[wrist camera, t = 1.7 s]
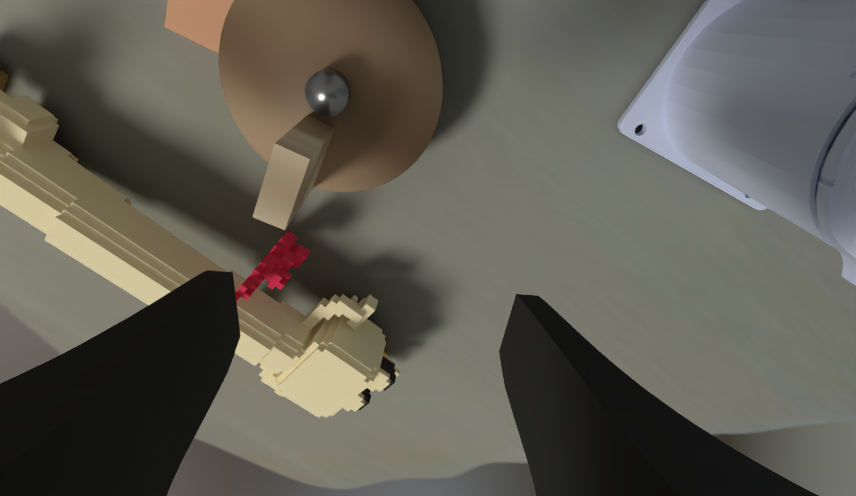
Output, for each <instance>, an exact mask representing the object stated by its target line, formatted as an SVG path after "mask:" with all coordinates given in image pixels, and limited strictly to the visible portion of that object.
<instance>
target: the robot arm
mask: <svg viewBox="0 0 856 496" xmlns="http://www.w3.org/2000/svg"><path fill="white" fill-rule="evenodd" d="M640 124H643V128H642V130H641V131H640V132H639V133H635V128H636V127H637V126H638V125H640ZM618 129H619V131H620V132H621V133H623V134H624V135H626V136H628V137H629V138H631V139H633V140H635V141H636V142H638V143H640V144H642V145H644V146H645V147H647V148H649V149H651V150H652V151H654V152H656V153H658V154H659V155H661V156H663V157H665V158H666V159H668V160H670V161H672V162H674V163H675V164H677V165H679V166H681V167H682V168H684V169H686V170H688V171H689V172H691V173H693V174H695V175H696V176H698V177H700V178H702V179H704V180H705V181H707V182H709V183H711V184H712V185H714V186H716V187H718V188H719V189H721V190H723V191H725V192H726V193H728V194H730V195H732V196H734V197H735V198H737V199H739V200H741V201H742V202H744V203H746V204H748V205H749V206H751V207H753V208H755V209H757V210H764V209H767V208H769V209H771V210H772V211H774V212H776V213H777V214H779V215H781V216H782V217H784V218H786V219H787V220H789V221H791V222H792V223H794V224H796V225H797V226H799V227H801V228H802V229H804V230H806V231H807V232H809V233H811V234H812V235H814V236H816V237H817V238H819V239H821V240H822V241H824V242H826V243H827V244H829V245H831V246H832V247H834V248H836V249H837V250H838V251H839V252H840V253H841V255H842V258H843V271H842V277H843V278H845V279H846V280H848V281H850V282H851V283H853V284H854V285H856V0H706V1H705V2H704V3H703V5H702V6H701V7H700V9H699V10H698V12H697V13H696V14H695V16H694V17H693V19H692V20H691V21H690V23H689V24H688V25H687V27H686V28H685V30H684V31H683V32H682V34H681V35H680V36H679V38H678V39H677V41H676V42H675V43H674V45H673V46H672V47H671V49H670V50H669V52H668V53H667V54H666V56H665V57H664V58H663V60H662V61H661V63H660V64H659V65H658V67H657V68H656V70H655V71H654V72H653V74H652V75H651V76H650V78H649V79H648V81H647V82H646V83H645V85H644V86H643V87H642V89H641V90H640V92H639V93H638V94H637V96H636V97H635V98H634V100H633V101H632V103H631V104H630V105H629V107H628V108H627V109H626V111H625V112H624V114H623V115H622V116H621V118H620V120H619V122H618ZM745 194H746V195H745ZM240 336H241V335H240V327H239V319H238V310H237V302H236V294H235V286H234V278H233V272H223V271H211V270H206V271H204V272H203V273H201V274H199V275H197V276H196V277H194V278H192V279H191V280H189V281H187V282H186V283H184V284H182V285H181V286H179V287H178V288H176V289H174V290H173V291H171V292H170V293H168V294H166V295H165V296H163V297H162V298H160V299H158V300H157V301H155V302H153V303H152V304H150V305H148V306H147V307H145V308H144V309H142V310H140V311H139V312H137V313H135V314H134V315H132V316H130V317H129V318H127V319H125V320H123V321H122V322H120V323H118V324H116V325H115V326H113V327H111V328H109V329H107V330H106V331H104V332H102V333H100V334H98V335H97V336H95V337H93V338H91V339H90V340H88V341H86V342H84V343H82V344H81V345H79V346H77V347H75V348H73V349H71V350H69V351H67V352H65V353H63V354H61V355H59V356H57V357H56V358H54V359H52V360H50V361H48V362H45V363H43V364H41V365H39V366H37V367H35V368H33V369H31V370H29V371H26V372H25V373H22V374H20V375H18V376H16V377H14V378H12V379H9V380H7V381H5V382H3V383H1V384H0V496H167V493H168V490H169V488H170V485H171V483H172V481H173V479H174V476H175V474H176V472H177V470H178V468H179V466H180V464H181V462H182V459H183V458H184V456H185V453H186V452H187V450H188V448H189V446H190V444H191V442H192V440H193V438H194V436H195V435H196V433H197V431H198V429H199V427H200V425H201V423H202V421H203V419H204V417H205V415H206V413H207V412H208V410H209V408H210V406H211V404H212V402H213V400H214V398H215V396H216V394H217V392H218V390H219V388H220V386H221V384H222V382H223V380H224V378H225V376H226V374H227V372H228V370H229V367H230V364H231V362H232V359H233V356H234V354H235V351H236V348H237V345H238V342H239V339H240ZM499 353H500V360H501V366H502V372H503V378H504V384H505V388H506V392H507V395H508V398H509V402H510V405H511V409H512V412H513V415H514V418H515V422H516V425H517V428H518V431H519V435H520V438H521V441H522V445H523V448H524V451H525V454H526V458H527V461H528V464H529V467H530V471H531V475H532V479H533V483H534V486H535V490H536V495H537V496H818V495H816V494H814V493H812V492H810V491H808V490H806V489H804V488H802V487H800V486H799V485H797V484H795V483H793V482H791V481H789V480H788V479H786V478H784V477H782V476H780V475H779V474H777V473H775V472H773V471H771V470H769V469H768V468H766V467H764V466H762V465H760V464H759V463H757V462H755V461H754V460H752V459H750V458H748V457H747V456H745V455H743V454H742V453H740V452H738V451H737V450H735V449H733V448H732V447H730V446H728V445H727V444H725V443H723V442H722V441H720V440H719V439H717V438H715V437H714V436H712V435H711V434H709V433H708V432H706V431H705V430H703V429H701V428H700V427H698V426H697V425H695V424H694V423H692V422H691V421H689V420H688V419H686V418H685V417H683V416H682V415H680V414H679V413H677V412H676V411H674V410H673V409H672V408H670V407H669V406H667V405H666V404H665V403H663V402H662V401H661V400H659V399H658V398H656V397H655V396H654V395H652V394H651V393H650V392H648V391H647V390H646V389H644V388H643V387H642V386H640V385H639V384H638V383H636V382H635V381H634V380H633V379H631V378H630V377H629V376H628V375H627V374H625V373H624V372H623V371H622V370H621V369H619V368H618V367H617V366H616V365H614V364H613V363H612V362H611V361H610V360H609V359H607V358H606V357H605V356H604V355H603V354H602V353H601V352H599V351H598V350H597V349H596V348H595V347H594V346H593V345H592V344H590V343H589V342H588V341H587V340H586V339H585V338H584V337H583V336H582V335H581V334H580V333H578V332H577V331H576V330H575V329H574V328H573V327H572V326H571V325H570V324H569V323H568V322H567V321H566V320H565V319H564V318H562V317H561V316H560V315H559V314H558V313H557V312H556V311H555V310H554V309H553V308H552V307H551V306H550V305H548V304H547V303H546V302H545V301H544V300H543V299H542V298H540V297H539V296H533V295H520V294H516V297H515V300H514V304H513V307H512V310H511V314H510V317H509V320H508V324H507V327H506V330H505V334H504V337H503V340H502V344H501V347H500V351H499Z"/></svg>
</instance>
